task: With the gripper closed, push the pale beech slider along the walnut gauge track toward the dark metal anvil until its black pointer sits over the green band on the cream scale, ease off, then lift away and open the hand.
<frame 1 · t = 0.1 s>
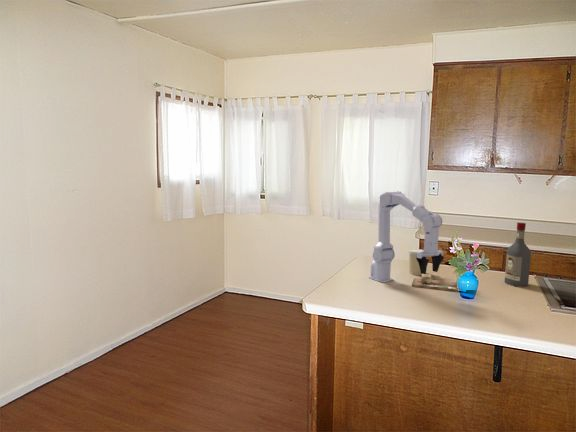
hand: (429, 272, 193), 10 cm above the table, tool pointing down, fingers open, 7 cm apart
gauge base: (425, 284, 210), on the table
gauge slider: (426, 279, 208), point 3 cm above the table, slide at 0.0 cm
liquor: (515, 284, 213), on the table
coffee cup: (416, 273, 230), on the table
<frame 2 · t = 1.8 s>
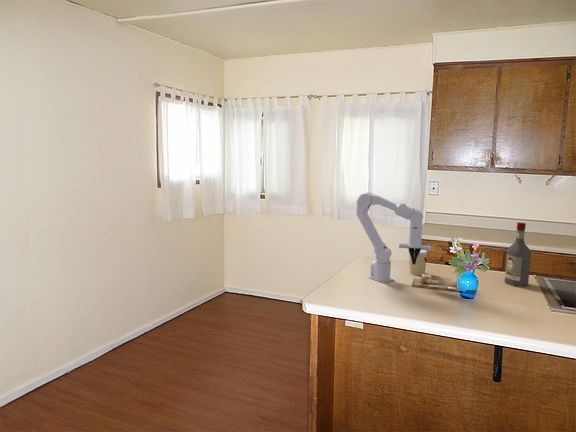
hand: (413, 263, 210), 10 cm above the table, tool pointing down, fingers closed
nothing on the table moved.
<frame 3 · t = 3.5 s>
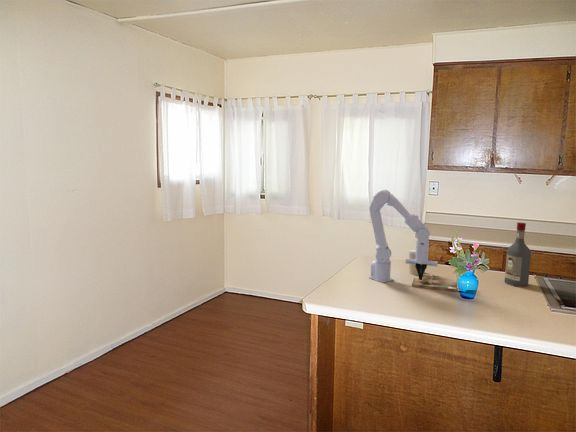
hand: (420, 279, 210), 2 cm above the table, tool pointing down, fingers closed
gauge slider: (427, 279, 208), point 3 cm above the table, slide at 0.7 cm, touching gripper
everything else where it was.
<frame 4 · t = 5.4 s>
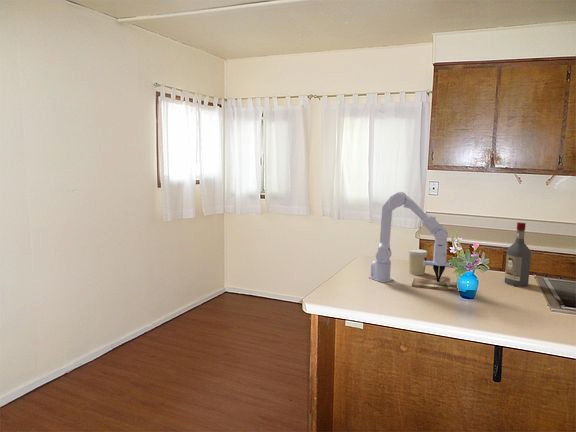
hand: (438, 281, 207), 2 cm above the table, tool pointing down, fingers closed
gauge slider: (445, 281, 205), point 3 cm above the table, slide at 8.7 cm, touching gripper
everything else where it was.
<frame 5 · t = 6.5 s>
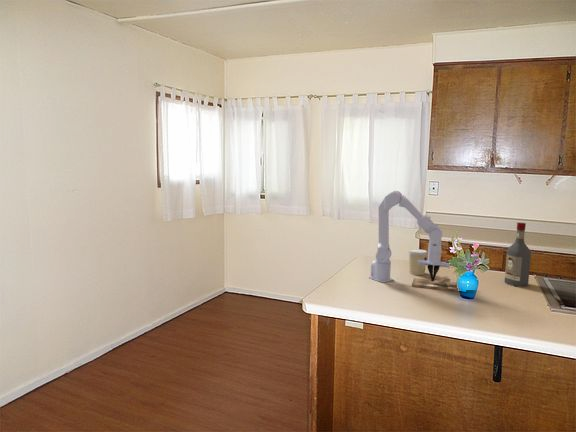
hand: (432, 280, 208), 2 cm above the table, tool pointing down, fingers closed
gauge slider: (445, 281, 205), point 3 cm above the table, slide at 8.7 cm
everything else where it was.
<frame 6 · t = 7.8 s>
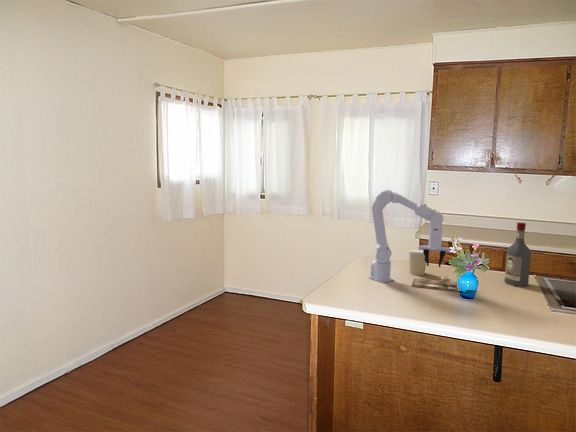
hand: (433, 266, 207), 9 cm above the table, tool pointing down, fingers open, 5 cm apart
nothing on the table moved.
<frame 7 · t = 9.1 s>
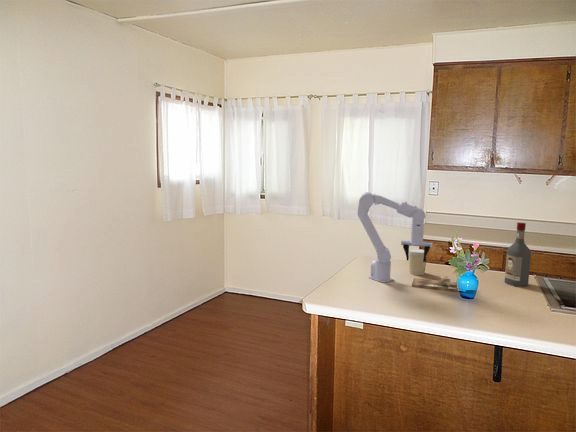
hand: (415, 260, 213), 10 cm above the table, tool pointing down, fingers open, 7 cm apart
nothing on the table moved.
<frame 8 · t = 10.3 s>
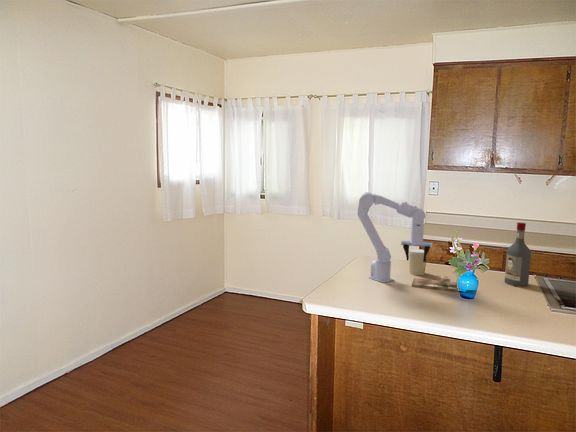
hand: (415, 260, 213), 10 cm above the table, tool pointing down, fingers open, 7 cm apart
nothing on the table moved.
at the end: gauge slider slide at 8.7 cm; the gripper is holding nothing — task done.
